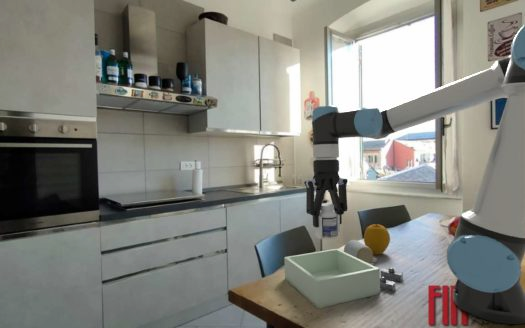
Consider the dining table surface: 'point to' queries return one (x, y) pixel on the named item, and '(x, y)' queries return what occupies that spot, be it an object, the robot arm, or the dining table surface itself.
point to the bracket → (389, 275)
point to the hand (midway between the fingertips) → (327, 236)
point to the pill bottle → (328, 221)
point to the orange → (377, 238)
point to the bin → (331, 277)
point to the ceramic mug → (359, 251)
